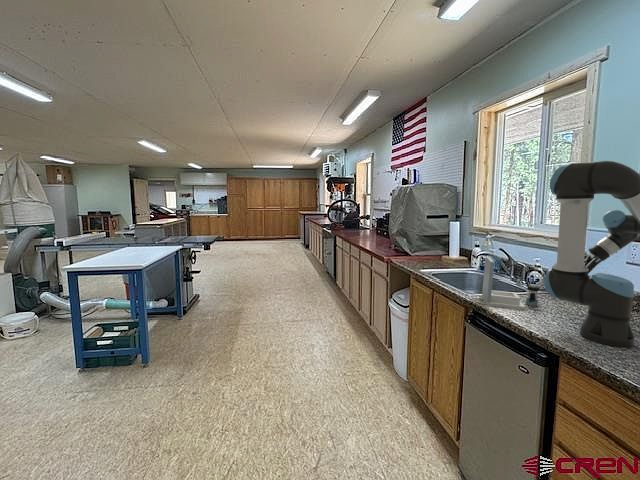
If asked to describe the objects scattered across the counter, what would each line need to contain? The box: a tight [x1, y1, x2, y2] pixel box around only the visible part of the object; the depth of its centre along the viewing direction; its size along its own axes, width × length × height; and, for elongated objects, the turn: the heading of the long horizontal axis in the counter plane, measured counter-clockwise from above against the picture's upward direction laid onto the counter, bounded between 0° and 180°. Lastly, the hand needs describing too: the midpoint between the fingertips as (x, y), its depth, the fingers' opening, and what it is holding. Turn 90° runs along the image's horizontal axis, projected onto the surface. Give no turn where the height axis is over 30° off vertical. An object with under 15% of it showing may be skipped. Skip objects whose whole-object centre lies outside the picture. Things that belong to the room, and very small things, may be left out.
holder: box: [481, 256, 526, 311], centre depth 163 cm, size 18×16×22 cm
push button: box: [525, 283, 541, 307], centre depth 161 cm, size 7×5×10 cm
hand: (560, 278), depth 157 cm, fingers open, 13 cm apart
